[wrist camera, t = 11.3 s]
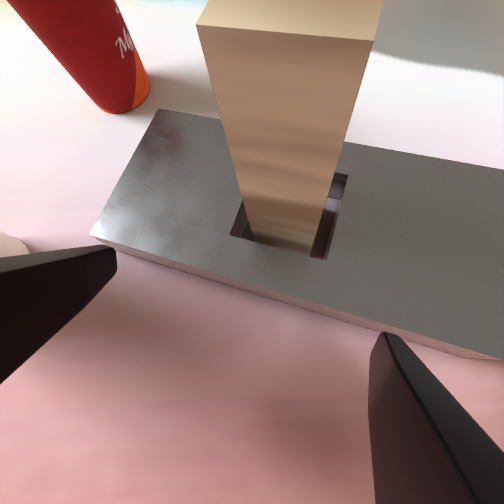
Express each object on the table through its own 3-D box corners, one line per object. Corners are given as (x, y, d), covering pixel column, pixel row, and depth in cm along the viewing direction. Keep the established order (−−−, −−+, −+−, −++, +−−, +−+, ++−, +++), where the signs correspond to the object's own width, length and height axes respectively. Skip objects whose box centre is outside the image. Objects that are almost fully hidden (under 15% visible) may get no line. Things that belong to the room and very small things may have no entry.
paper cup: (176, 87, 26) (65, -187, 12) (112, 136, 24) (-86, -111, 11) (131, 53, 28) (-2, -207, 15) (71, 96, 27) (-132, -146, 14)
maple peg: (309, 257, 19) (373, 40, 5) (254, 243, 19) (195, 24, 6) (322, 207, 20) (401, -70, 7) (269, 196, 20) (248, -72, 7)
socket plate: (463, 357, 16) (503, 360, 13) (115, 250, 20) (89, 234, 18) (476, 197, 19) (511, 170, 16) (173, 137, 23) (158, 108, 21)
